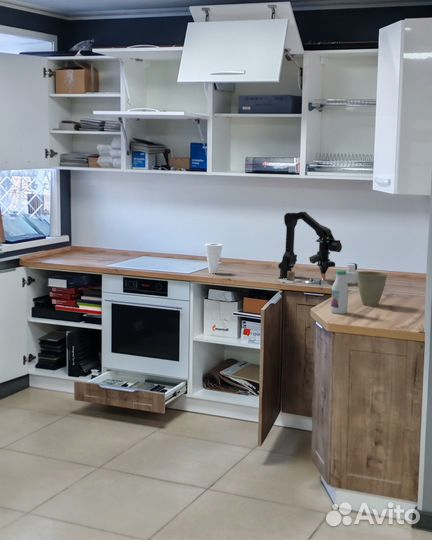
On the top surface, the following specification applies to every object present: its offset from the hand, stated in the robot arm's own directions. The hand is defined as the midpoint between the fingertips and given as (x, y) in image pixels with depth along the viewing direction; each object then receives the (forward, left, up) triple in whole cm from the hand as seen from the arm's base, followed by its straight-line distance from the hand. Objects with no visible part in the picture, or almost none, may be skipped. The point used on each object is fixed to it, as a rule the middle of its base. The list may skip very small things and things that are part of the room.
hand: (322, 276), depth 452 cm
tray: (-14, -12, -4) cm, 19 cm away
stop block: (-14, -13, -4) cm, 19 cm away
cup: (-66, -22, -4) cm, 70 cm away
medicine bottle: (+10, +15, -5) cm, 18 cm away
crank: (-2, -6, -3) cm, 7 cm away
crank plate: (-1, -7, -4) cm, 8 cm away
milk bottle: (+54, -66, -4) cm, 86 cm away
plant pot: (+53, -36, -4) cm, 65 cm away
